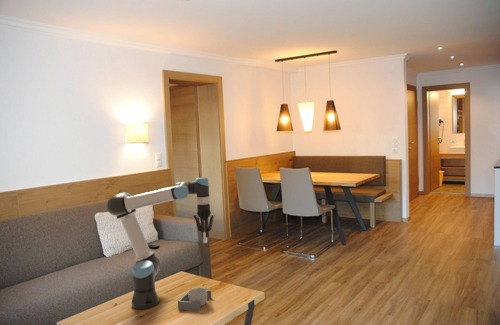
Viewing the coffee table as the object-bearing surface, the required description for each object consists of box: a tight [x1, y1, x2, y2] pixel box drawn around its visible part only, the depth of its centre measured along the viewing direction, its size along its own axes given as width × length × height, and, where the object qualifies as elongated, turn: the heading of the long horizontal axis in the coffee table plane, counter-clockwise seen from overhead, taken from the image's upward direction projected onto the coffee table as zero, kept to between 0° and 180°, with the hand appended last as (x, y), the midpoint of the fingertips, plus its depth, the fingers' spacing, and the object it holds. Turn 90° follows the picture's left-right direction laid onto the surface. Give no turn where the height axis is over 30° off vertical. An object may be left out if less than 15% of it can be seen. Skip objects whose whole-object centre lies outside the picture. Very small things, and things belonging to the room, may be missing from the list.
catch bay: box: [177, 288, 212, 312], centre depth 230 cm, size 13×18×4 cm
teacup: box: [187, 286, 208, 307], centre depth 229 cm, size 14×11×8 cm
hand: (205, 242), depth 244 cm, fingers closed
